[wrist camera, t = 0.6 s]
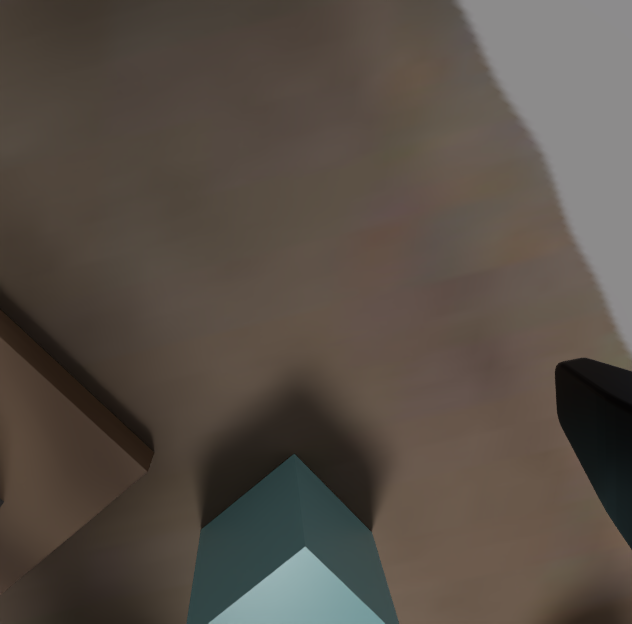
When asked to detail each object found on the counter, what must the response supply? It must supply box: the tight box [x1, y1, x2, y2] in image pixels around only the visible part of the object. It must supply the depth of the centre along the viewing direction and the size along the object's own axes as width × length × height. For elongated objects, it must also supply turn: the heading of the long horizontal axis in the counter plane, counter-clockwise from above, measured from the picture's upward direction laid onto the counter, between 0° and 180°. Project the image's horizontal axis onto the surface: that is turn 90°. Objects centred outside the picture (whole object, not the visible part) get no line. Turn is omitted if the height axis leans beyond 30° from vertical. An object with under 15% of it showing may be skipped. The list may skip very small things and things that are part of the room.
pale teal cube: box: [187, 454, 399, 624], centre depth 22 cm, size 5×5×6 cm
